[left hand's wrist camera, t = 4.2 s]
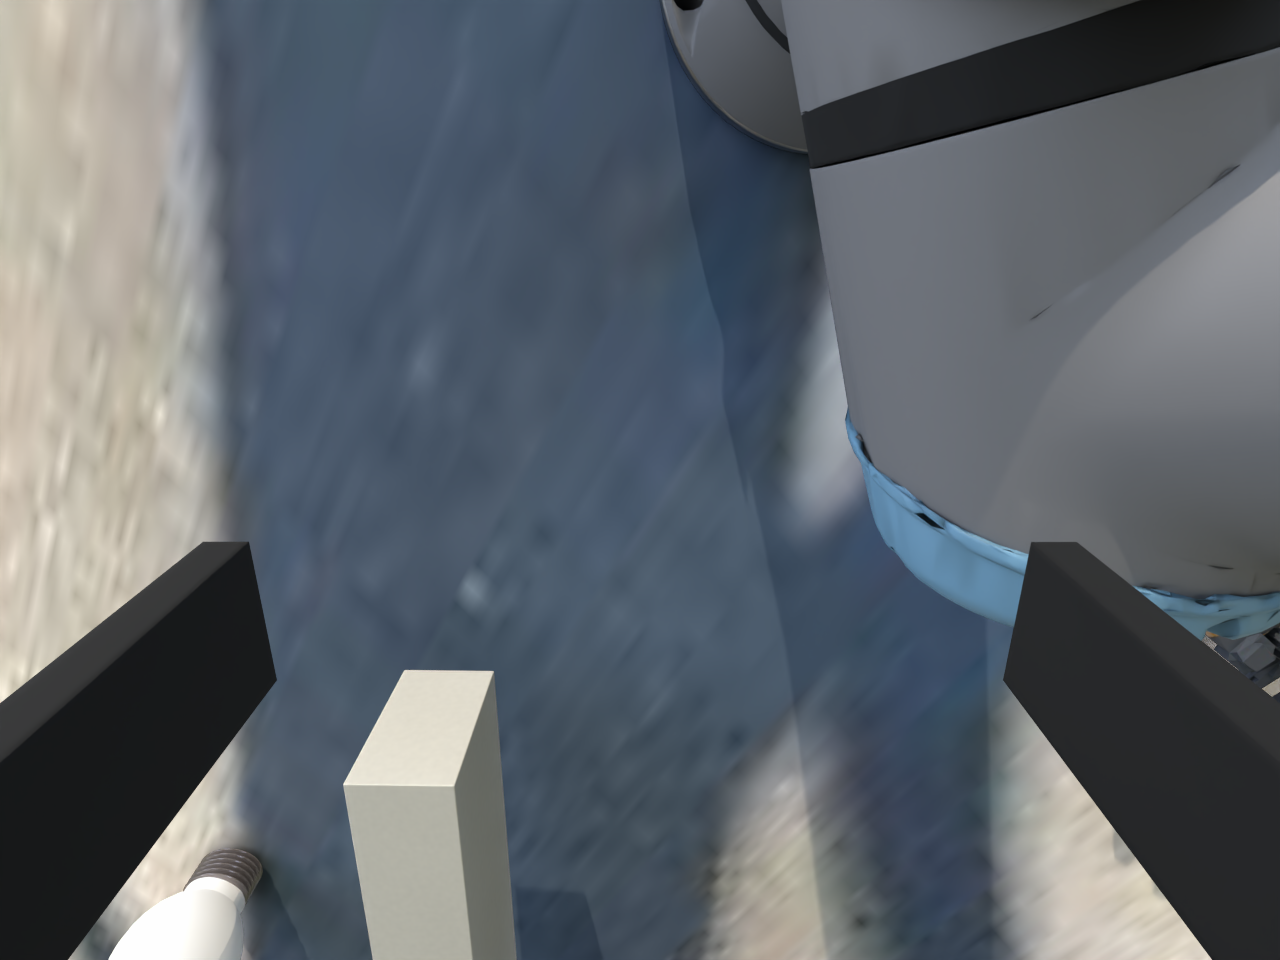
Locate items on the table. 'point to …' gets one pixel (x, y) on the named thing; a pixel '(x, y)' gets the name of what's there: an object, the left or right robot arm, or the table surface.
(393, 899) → the bar
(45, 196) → the table surface
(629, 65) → the table surface
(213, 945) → the light bulb
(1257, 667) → the toy
